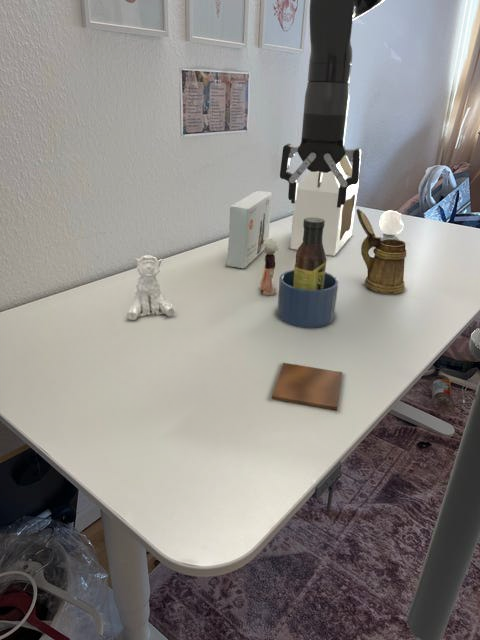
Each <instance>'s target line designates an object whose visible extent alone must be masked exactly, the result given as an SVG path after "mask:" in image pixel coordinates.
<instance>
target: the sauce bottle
mask: <svg viewBox="0 0 480 640" xmlns="http://www.w3.org/2000/svg"><path fill="white" fill-rule="evenodd" d="M324 225H325V220H323V219H321V218H315V217H311V218H305V219H304V223H303V227H304V235H303V243H302V244H301V245H300V247H299V248H298V250H296V252H295V262H294V263H295V264H294V266H293V267H294V269H293V270H294V280H293V287H295V288H299V289H305V290H322V289H323V288H324V280H325V272H326V270H327V269H326V268H327V256H326V255H325V252H324V248H323V243H322V236H323V228H324Z"/></svg>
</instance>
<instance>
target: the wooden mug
mask: <svg viewBox="0 0 480 640" xmlns="http://www.w3.org/2000/svg"><path fill="white" fill-rule="evenodd" d="M356 216H357V219H358V221H359V223H360V225H361V227H362V229H363V231H364V233H365V234H366V235H367V236H366V237H365V238H364V239H363V241H362V242H361V247H360V254H361V256H362V259H363V262H364V263H365V266H366V269H367V276H366V277H365V280H364V284H365V286H366V288H367V289H368V290H370V291H372V292H375V293H378V294H382V295H396V294H401V293H402V292H404V291H405V280H404V277H405V263H406V262H405V261H406V260H405V259H406V257H407V249H406V242H405V241H403V240H400V239H396V238H385V239H382V238H381V237H379V236H376V233H375V232H374V229H373V226H372V224H371V222H370V220H369V218H368V217H367V215H366V213H364V212H363V211H362V210H360V209H359V208H357V209H356ZM371 248H374V249H373V254H374V256H371V255H370V254H369V251H370V249H371Z"/></svg>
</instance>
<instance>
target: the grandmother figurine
mask: <svg viewBox="0 0 480 640" xmlns="http://www.w3.org/2000/svg"><path fill="white" fill-rule="evenodd" d="M279 250H280V246H279V244H278V241H276V240H274V239H273V238H268V239H267V240H266V241H265V248H264V250H263V251H264V253H265V257H264V262H265V263H264V268H263V272H262V276H261V280H260V285H259V290H260V291H262V294H263V295H264V296H273V295H275V291H274V283H273V282H274V276H275V269H276V257H275V252H276V251H277V252H278V251H279Z"/></svg>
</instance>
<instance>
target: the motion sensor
mask: <svg viewBox="0 0 480 640" xmlns="http://www.w3.org/2000/svg"><path fill="white" fill-rule="evenodd" d="M401 216H402V214H401V213H400V212H398V211H395V210H392V209H389V210H386V211H385V212H383V213H382V214H381V215H380V218H379V220H378V226H379V230H380V231H381V232H382V233H383V234H385V235H387V236H395V235H398V234H400V233H402V231H403V230H404V222H403V221H402V218H401Z"/></svg>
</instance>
